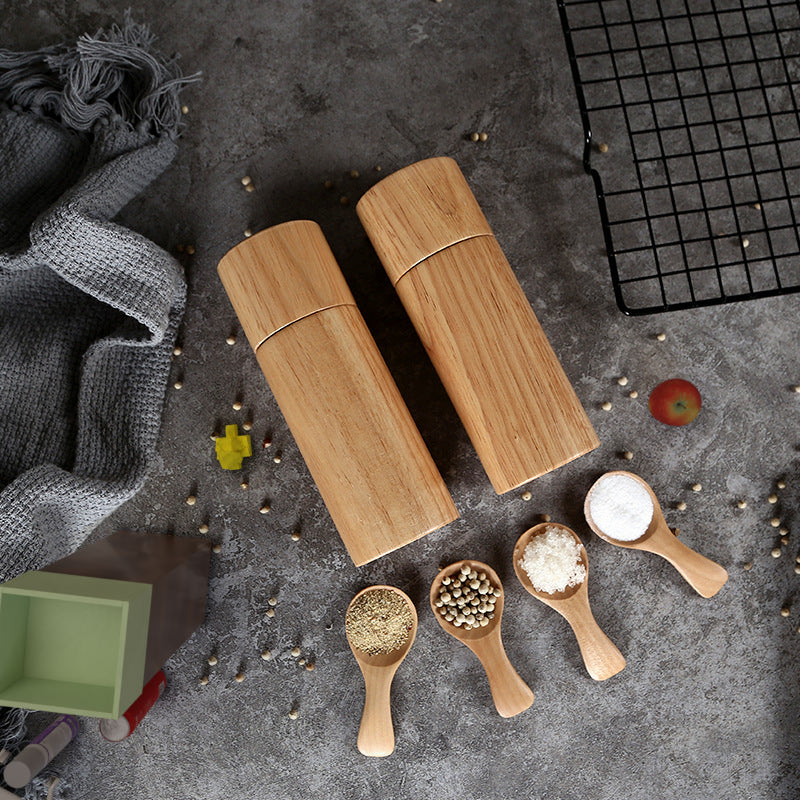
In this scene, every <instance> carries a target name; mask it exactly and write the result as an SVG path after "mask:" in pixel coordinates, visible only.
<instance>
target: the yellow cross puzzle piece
mask: <svg viewBox="0 0 800 800" xmlns="http://www.w3.org/2000/svg"><path fill="white" fill-rule="evenodd" d="M214 450H215V452H216V460H217V461H219V464H220V467H221V469H222V470H229V471H233V470H240V469H242V462H243V460H244V458H246V457H252V456H253V452H252V451H253V450H252V440H251V435H250V434H245V435H244V434H243V435H239V428H238V423H237V424H226V425H225V436H223V437H216V438H215V449H214Z"/></svg>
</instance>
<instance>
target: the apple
mask: <svg viewBox="0 0 800 800" xmlns="http://www.w3.org/2000/svg"><path fill="white" fill-rule="evenodd" d="M702 401H703V400H702V396H701V392H700V391H699V389H698V387H696V385H695V384H693V383H692V382H691V381H689V380H687V379H684V378H679V377H678V378H677V377H676V378H670V379H666V380H664V381H662V382H660V383H659V384H658V385H656V387H654V389H653V390H652V391H651V393H650V395H649V397H648V400H647V408H648V411H649V413H650V415H651V416H652V417H653V419H655V420H656V421H658V422H660V423H662V424H664V425H666V426H670V427H682V426H686V425H688V424H690V423H692V422H693V421H695V419H696V418H697V417H698V416H699V415H700V412H701V409H702V404H703V403H702Z"/></svg>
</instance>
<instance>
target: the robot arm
mask: <svg viewBox="0 0 800 800" xmlns="http://www.w3.org/2000/svg"><path fill="white" fill-rule="evenodd" d="M12 756H13V753H12V752H11V751H9V750H8V749H5V748H2V749H1V751H0V764H1V765H4V766H5V765H6V763H7V762H8V760H9V759H10V758H11V757H12ZM60 782H61V778H60V777H58V776H55V775H54V774H51V775H50V777H49V779H48V780H47V781H46V783H45V784H44V787H45V788H46V789H47V796H46V800H54V792H55V789H56V788H57V786H58V785H59V784H60ZM0 800H25V799H24V798H22V797H20V796H19V795H17V794H15V793H13V792H11V791H9V790H7V789H6V788H3V787H2V786H0Z"/></svg>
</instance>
